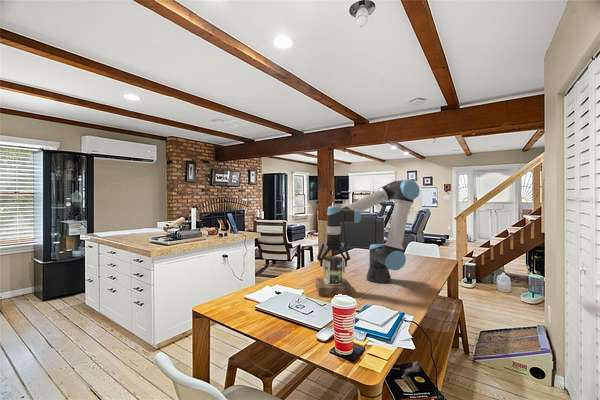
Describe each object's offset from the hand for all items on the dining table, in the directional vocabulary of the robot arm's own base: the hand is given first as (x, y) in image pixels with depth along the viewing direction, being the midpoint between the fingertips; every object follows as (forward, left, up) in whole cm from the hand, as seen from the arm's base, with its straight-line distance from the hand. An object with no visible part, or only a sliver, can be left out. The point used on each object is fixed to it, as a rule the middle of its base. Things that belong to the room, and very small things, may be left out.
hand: (333, 272), depth 158 cm
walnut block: (0, 0, -10) cm, 10 cm away
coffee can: (0, 0, -6) cm, 6 cm away
